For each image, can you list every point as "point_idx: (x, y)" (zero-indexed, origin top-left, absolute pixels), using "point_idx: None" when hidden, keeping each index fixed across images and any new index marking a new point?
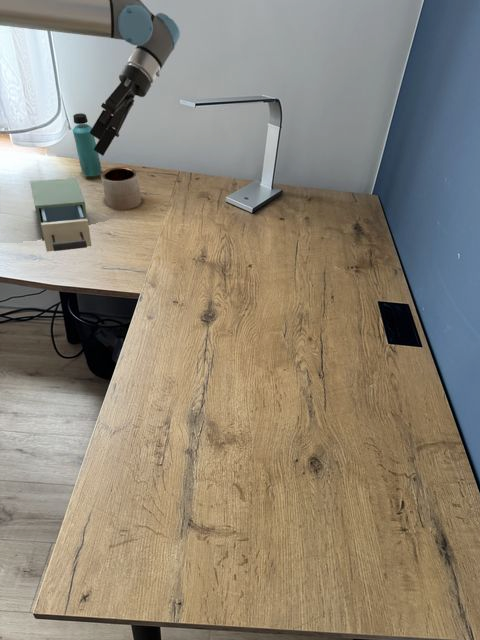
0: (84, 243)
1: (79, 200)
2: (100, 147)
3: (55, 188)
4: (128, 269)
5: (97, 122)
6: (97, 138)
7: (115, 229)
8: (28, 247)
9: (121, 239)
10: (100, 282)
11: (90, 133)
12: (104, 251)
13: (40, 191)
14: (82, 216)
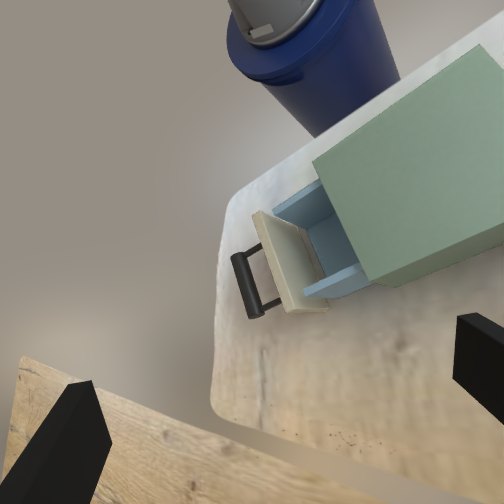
0: (247, 314)
1: (373, 263)
2: (488, 368)
3: (443, 153)
4: (264, 400)
5: (11, 486)
6: (103, 429)
7: (434, 358)
8: (304, 187)
9: (379, 380)
10: (226, 349)
11: (79, 388)
12: (317, 342)
13: (403, 124)
14: (306, 292)
